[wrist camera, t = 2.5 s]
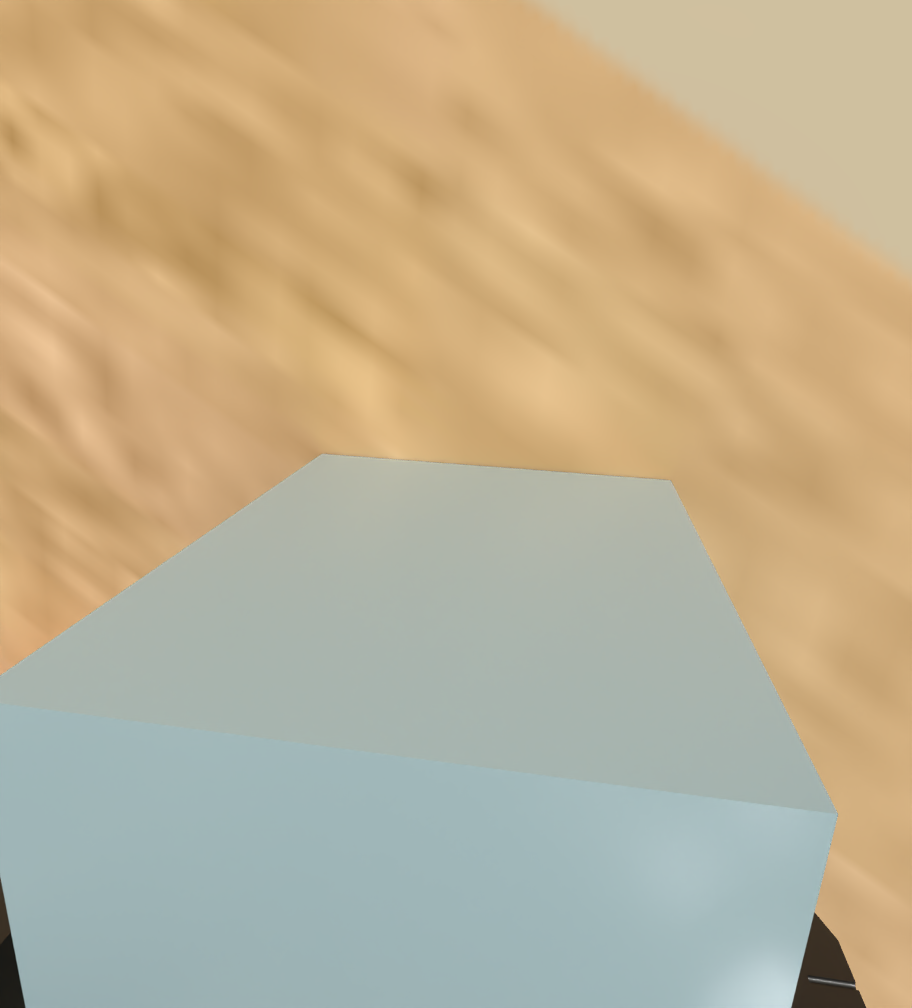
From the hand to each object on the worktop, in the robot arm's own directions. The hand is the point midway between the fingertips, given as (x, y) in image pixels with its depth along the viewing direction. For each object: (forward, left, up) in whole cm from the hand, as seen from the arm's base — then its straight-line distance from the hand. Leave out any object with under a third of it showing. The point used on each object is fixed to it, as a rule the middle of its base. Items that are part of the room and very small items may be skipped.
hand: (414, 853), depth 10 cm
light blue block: (0, 0, -5) cm, 5 cm away
